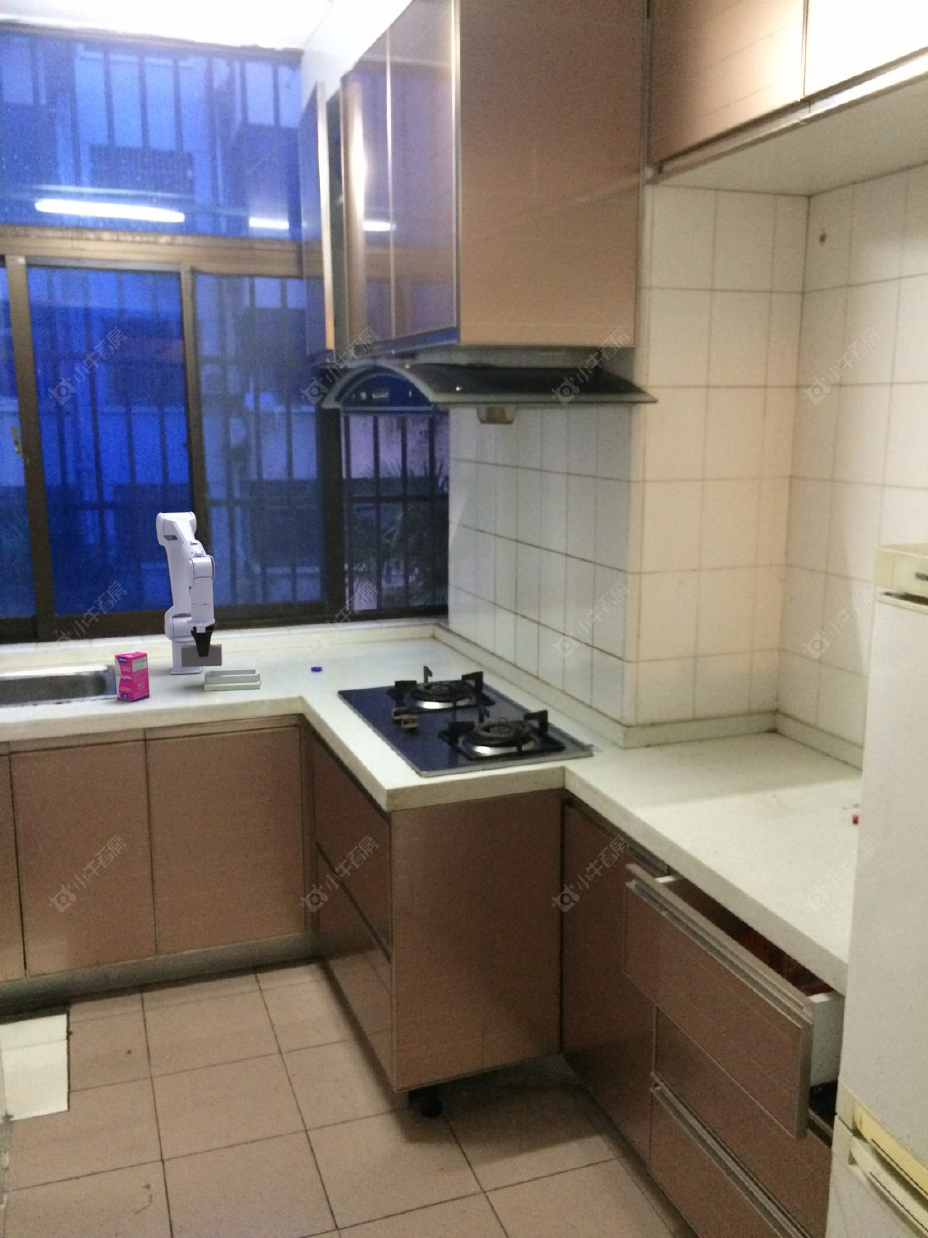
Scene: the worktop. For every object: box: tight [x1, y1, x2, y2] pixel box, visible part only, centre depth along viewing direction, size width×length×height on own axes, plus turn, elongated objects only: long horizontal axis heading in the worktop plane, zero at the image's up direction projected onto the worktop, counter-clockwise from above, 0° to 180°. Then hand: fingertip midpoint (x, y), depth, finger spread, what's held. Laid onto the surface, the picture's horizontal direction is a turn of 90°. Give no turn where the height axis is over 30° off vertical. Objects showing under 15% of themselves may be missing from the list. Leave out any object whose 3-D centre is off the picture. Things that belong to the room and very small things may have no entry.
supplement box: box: [114, 650, 151, 703], centre depth 256 cm, size 6×6×12 cm
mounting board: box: [203, 667, 261, 692], centre depth 272 cm, size 14×14×3 cm
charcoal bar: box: [181, 643, 223, 668], centre depth 268 cm, size 4×10×5 cm, turn 100°
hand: (204, 654), depth 268 cm, fingers closed on charcoal bar, 4 cm apart
